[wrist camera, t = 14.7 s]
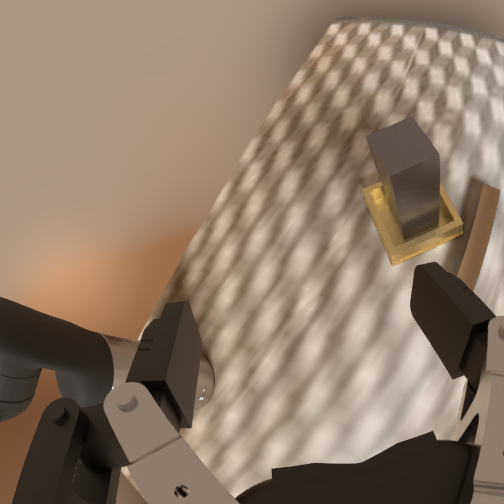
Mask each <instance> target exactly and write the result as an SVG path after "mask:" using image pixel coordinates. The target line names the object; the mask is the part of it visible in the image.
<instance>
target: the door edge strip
mask: <svg viewBox="0 0 504 504" xmlns="http://www.w3.org/2000/svg"><path fill="white" fill-rule="evenodd" d="M499 195H500V190H499V189H496V188H494V187H491V186H488V185H486V184H483V187H482V192H481V196H480V200H479V205H478V209H477V213H476V216H475V220H474V224H473V227H472V231H471V234H470V238H469V241H468V244H467V247H466V251H465V254H464V257H463V260H462V263H461V266H460V268H459V271H458V274H457V277H458V278H460V279H461V280H462V281H463V282H464V283H465V284H466V285H467V286H468V288H470V289H471V290H472V291H473V290H474V287H475V285H476V282H477V279H478V276H479V273H480V270H481V266H482V263H483V260H484V257H485V253H486V250H487V246H488V242H489V239H490V235H491V231H492V227H493V223H494V219H495V214H496V210H497V205H498V200H499Z"/></svg>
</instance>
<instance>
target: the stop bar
mask: <svg viewBox="0 0 504 504" xmlns="http://www.w3.org/2000/svg"><path fill="white" fill-rule="evenodd" d="M366 138H367V141H368V144H369V146H370V149H371V152H372V155H373V158H374V161H375V164H376V167H377V170H378V173H379V176H380V180H381V183H382V186H383V189H384V193H385V196H386V200H387V203H388V207H389V209H390V211H391V213H392V215H393V217H394V219H395V222H396V224H397V226H398V228H399V230H400V232H401V235H402V237H403V239H404V240H406V239H408V238H410V237H412V236H414V235H417V234H419V233H421V232H423V231H426V230H428V229H430V228H432V227H434V226H436V225H439V212H440V159H439V153H438V152H437V150H436V149H435V147H434V146H433V145H432V143H431V142H430V140H429V139H428V138H427V136H426V135H425V134H424V132H423V131H422V130H421V128H420V127H419V126H418V124H417V123H416V122H415V120H414V119H413V118H412V117H409V118H407V119H405V120H402V121H400V122H398V123H395V124H393V125H391V126H388V127H386V128H384V129H382V130H379V131H377V132H375V133H373V134H371V135H368V136H366Z"/></svg>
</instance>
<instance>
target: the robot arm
mask: <svg viewBox="0 0 504 504" xmlns="http://www.w3.org/2000/svg"><path fill="white" fill-rule="evenodd" d="M410 307H411V312H412V315H413V317H414V319H415V321H416V322H417V324H418V325H419V327H420V328H421V330H422V331H423V333H424V334H425V336H426V337H427V339H428V340H429V342H430V343H431V345H432V347H433V348H434V350H435V351H436V353H437V354H438V356H439V358H440V359H441V361H442V363H443V364H444V366H445V367H446V369H447V371H448V372H449V374H450V376H451V377H452V379H456V378H458V377H461V376H463V375H465V377H466V378H467V380H466V382H465V384H464V389H463V394H462V399H461V404H460V408H459V413H458V417H457V421H456V425H455V429H454V432H453V434H452V436H451V438H450V440H437V439H436V437H435V434H434V432H433V431H431V432H429V433H426V434H423V435H420V436H418V437H415V438H412V439H409V440H406V441H403V442H399V443H397V444H395V445H393V446H392V447H390V448H388V449H386V450H385V451H383V452H381V453H379V454H377V455H375V456H373V457H372V458H370V459H368V460H366V461H364V462H361V463H356V464H331V463H311V464H305V465H298V466H291V467H283V468H275V469H272V479H269V480H266V481H263V482H261V483H259V484H257V485H254V486H253V487H251V488H249V489H247V490H246V491H244V492H243V493H241V494H240V495H238V496H237V497H236V498H234V497H233V496H232V495H231V494H230V493H229V492H228V491H227V490H226V489H225V488H224V486H223V485H222V484H221V483H220V482H219V481H218V480H217V479H216V478H215V476H214V475H213V474H212V473H211V472H210V471H209V469H208V468H207V467H206V466H205V465H204V464H203V462H202V461H201V460H200V459H199V457H198V456H197V455H196V454H195V453H194V451H193V450H192V449H191V448H190V446H189V445H188V444H187V442H186V441H185V440H184V439H183V437H182V436H181V435H179V432H180V428H192V420H193V412H194V410H196V409H199V408H201V407H203V406H204V405H205V404H206V403H207V402H208V400H209V399H210V397H211V395H212V392H213V388H214V375H213V371H212V367H211V366H210V364H209V362H208V361H207V359H206V358H205V357H204V356H203V355H201V352H202V347H201V339H200V335H199V332H198V329H197V326H196V323H195V320H194V317H193V314H192V310H191V307H190V305H189V303H188V302H187V301H185V302H177V303H168V304H166V305H165V306H164V309H163V312H162V315H161V318H160V319H154V320H153V321H152V322H151V323H150V324H149V325H148V326H147V327H146V328H145V329H144V332H143V335H142V337H141V340H140V341H138V340H135V341H134V340H129V339H124V338H120V337H115V336H110V335H106V334H101V333H97V332H93V331H89V330H86V329H84V328H82V327H79V326H77V325H75V324H73V323H70V322H68V321H65V320H62V319H59V318H56V317H53V316H50V315H47V314H44V313H41V312H39V311H36V310H34V309H31V308H29V307H26V306H24V305H21V304H18V303H16V302H14V301H11V300H8V299H5V298H2V297H0V422H2V421H5V420H9V419H11V418H14V417H16V416H18V415H20V414H21V413H22V412H24V411H25V410H26V409H27V408H28V406H29V405H30V403H31V401H32V399H33V397H34V394H35V390H36V387H37V383H38V380H39V376H40V373H41V370H42V368H46V369H50V370H54V371H55V372H56V379H57V384H58V387H59V390H60V393H61V395H62V397H63V398H60V399H57V400H55V401H53V402H52V403H50V404H49V405H48V406H47V407H46V409H45V410H44V412H43V414H42V417H41V419H40V422H39V424H38V427H37V429H36V432H35V435H34V437H33V440H32V443H31V445H30V448H29V451H28V454H27V457H26V460H25V462H24V466H23V469H22V472H21V475H20V478H19V481H18V485H17V488H16V491H15V495H14V498H13V502H12V504H115V503H116V496H117V490H118V489H117V488H118V483H119V477H120V471H121V467H124V466H127V467H128V469H129V472H130V474H131V475H132V477H133V479H134V481H135V482H136V484H137V486H138V488H139V489H140V491H141V493H142V494H143V496H144V497H145V499H146V501H147V502H148V504H504V316H497V317H496V316H495V315H494V313H493V312H492V311H491V310H490V309H489V308H488V307H487V306H486V305H485V304H484V303H483V301H482V300H481V299H480V298H479V297H478V296H477V295H475V293H474V292H473V291H472V290H471V289H470V288H468V286H467V285H466V284H465V283H464V282H463V281H462V280H461V279H460V278H458V277H456V276H454V275H452V274H451V273H447V272H446V271H445V270H444V269H443V268H442V267H441V266H440V265H439V264H438V263H436V262H432V263H427V264H422V265H417V266H416V268H415V270H414V278H413V286H412V293H411V300H410ZM77 463H78V464H77ZM76 467H77V468H76ZM75 471H76V472H75ZM74 475H75V476H74ZM73 479H74V481H73Z"/></svg>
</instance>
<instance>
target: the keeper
mask: <svg viewBox="0 0 504 504" xmlns="http://www.w3.org/2000/svg"><path fill="white" fill-rule="evenodd" d="M362 191H363V194H364V196H365V198H364V200H365V202H366V205H367V207H368V209H369V211H370V214H371V216H372V218H373V220H374V223H375V225H376V227H377V230H378V232H379V234H380V237H381V239H382V242H383V244H384V247H385V249H386V252H387V254H388V257H389V259H390V262H391V264H392V266H394V265H397V264H399V263H402V262H404V261H406V260H408V259H411V258H413V257H415V256H418V255H420V254H422V253H424V252H427V251H429V250H431V249H433V248H435V247H438V246H440V245H442V244H444V243H446V242H449V241H451V240H453V239H455V238H457V237H459V236H461V235H463V231H462V228H463V222H462V220H461V218H460V216H459V214H458V213H457V211H456V209H455V207H454V205H453V203H452V202H451V200H450V198H449V196H448V194H447V193H446V191H445V189H444V188H443V186H442V184H441V182H440V212H439V225H436V226H434V227H432V228H430V229H428V230H426V231H423V232H421V233H419V234H417V235H414V236H412V237H410V238H408V239H406V240H404V239H403V237H402V235H401V232H400V230H399V228H398V226H397V224H396V222H395V219H394V217H393V215H392V213H391V211H390V209H389V207H388V203H387V200H386V196H385V193H384V189H383V186H382V183H381V181H379V182H377V183H375V184H373V185H370V186H368V187H366V188H364V189H362Z"/></svg>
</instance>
